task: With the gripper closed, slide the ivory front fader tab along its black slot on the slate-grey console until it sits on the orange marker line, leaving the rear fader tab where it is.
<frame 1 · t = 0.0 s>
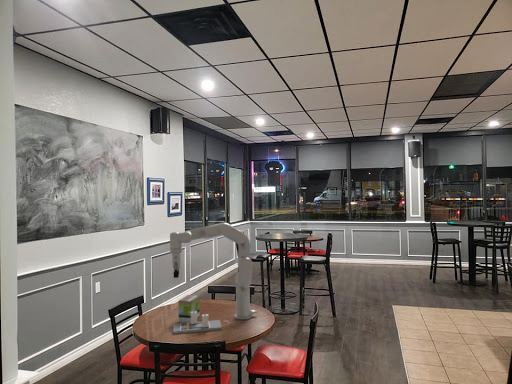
hand: (176, 276, 236), 31 cm above the table, fingers open, 9 cm apart
console: (197, 327, 225), on the table
front fader tab: (205, 320, 222), point 6 cm above the table, slide at 2.0 cm
tea box: (189, 319, 242), on the table
rear fader tab: (193, 317, 229), point 6 cm above the table, slide at 0.0 cm
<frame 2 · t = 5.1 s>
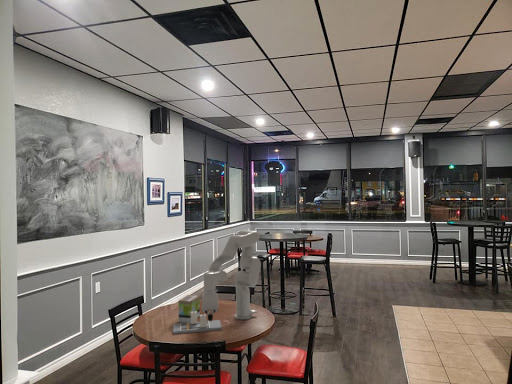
hand: (210, 320, 223), 5 cm above the table, fingers closed
front fader tab: (203, 320, 222), point 6 cm above the table, slide at 3.3 cm, touching gripper
everything else where it was.
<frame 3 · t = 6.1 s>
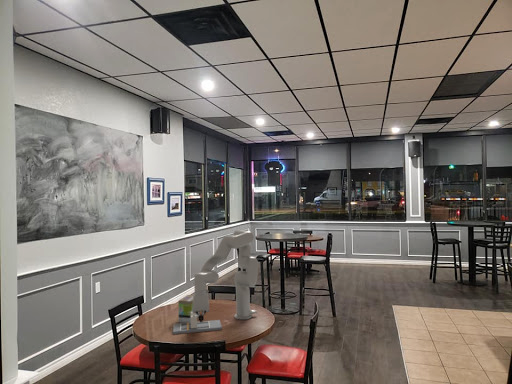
hand: (201, 321, 221), 5 cm above the table, fingers closed
front fader tab: (193, 321, 221), point 6 cm above the table, slide at 9.1 cm, touching gripper
everything else where it was.
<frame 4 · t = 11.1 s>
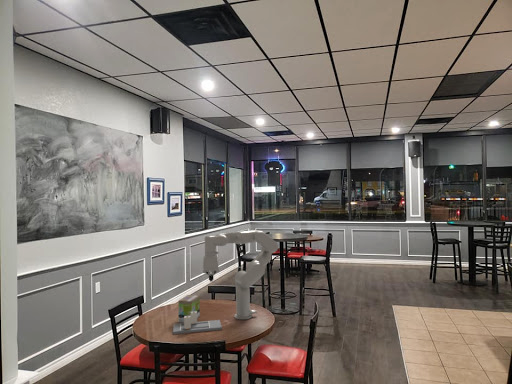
hand: (211, 281, 237), 27 cm above the table, fingers closed
front fader tab: (187, 321, 220), point 6 cm above the table, slide at 13.1 cm
everything else where it was.
at the end: front fader tab slide at 13.1 cm; rear fader tab slide at 0.0 cm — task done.
